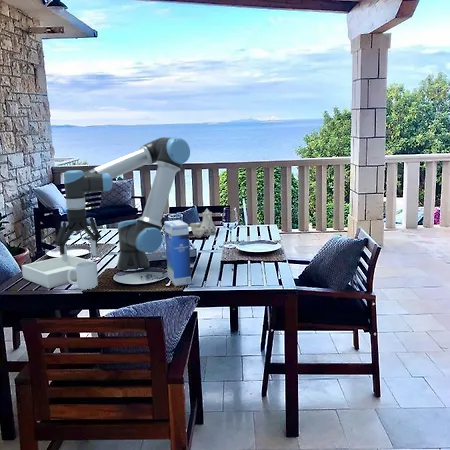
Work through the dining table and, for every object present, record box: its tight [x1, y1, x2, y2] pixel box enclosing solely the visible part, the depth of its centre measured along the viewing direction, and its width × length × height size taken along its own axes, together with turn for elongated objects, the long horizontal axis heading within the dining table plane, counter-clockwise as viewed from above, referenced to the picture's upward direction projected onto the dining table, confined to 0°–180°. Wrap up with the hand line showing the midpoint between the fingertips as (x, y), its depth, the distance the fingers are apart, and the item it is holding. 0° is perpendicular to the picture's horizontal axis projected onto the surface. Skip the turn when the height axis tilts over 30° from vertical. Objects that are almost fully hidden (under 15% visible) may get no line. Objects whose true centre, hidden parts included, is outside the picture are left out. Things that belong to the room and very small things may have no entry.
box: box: [21, 254, 98, 289], centre depth 226 cm, size 24×24×6 cm
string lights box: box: [164, 219, 192, 287], centre depth 211 cm, size 13×8×26 cm, turn 21°
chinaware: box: [188, 208, 217, 239], centre depth 307 cm, size 28×17×17 cm, turn 13°
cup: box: [67, 260, 99, 291], centre depth 208 cm, size 8×12×10 cm
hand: (79, 258), depth 207 cm, fingers open, 13 cm apart
